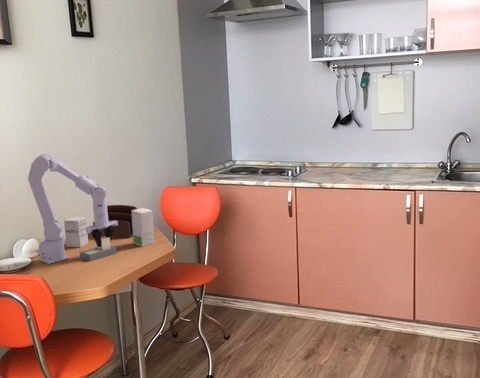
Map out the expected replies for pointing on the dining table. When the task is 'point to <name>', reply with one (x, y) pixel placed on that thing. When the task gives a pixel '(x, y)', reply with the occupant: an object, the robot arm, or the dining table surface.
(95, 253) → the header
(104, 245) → the plug
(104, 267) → the dining table surface
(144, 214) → the skincare box
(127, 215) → the letter holder
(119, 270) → the dining table surface
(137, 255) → the dining table surface
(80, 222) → the supplement box
